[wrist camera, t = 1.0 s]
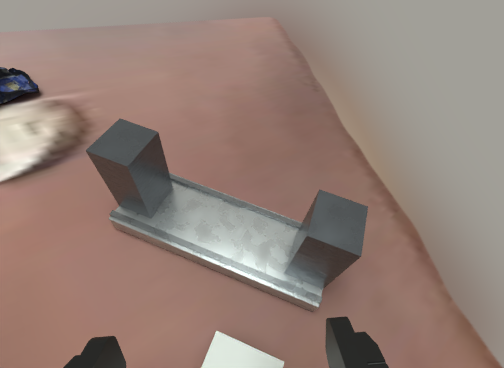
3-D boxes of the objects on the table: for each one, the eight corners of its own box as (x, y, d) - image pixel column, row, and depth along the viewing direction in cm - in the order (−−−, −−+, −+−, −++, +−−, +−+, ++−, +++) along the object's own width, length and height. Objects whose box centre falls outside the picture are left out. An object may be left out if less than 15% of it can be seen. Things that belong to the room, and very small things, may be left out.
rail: (115, 228, 34) (69, 165, 24) (155, 176, 39) (131, 107, 29) (312, 311, 30) (357, 280, 20) (327, 242, 35) (370, 190, 25)
